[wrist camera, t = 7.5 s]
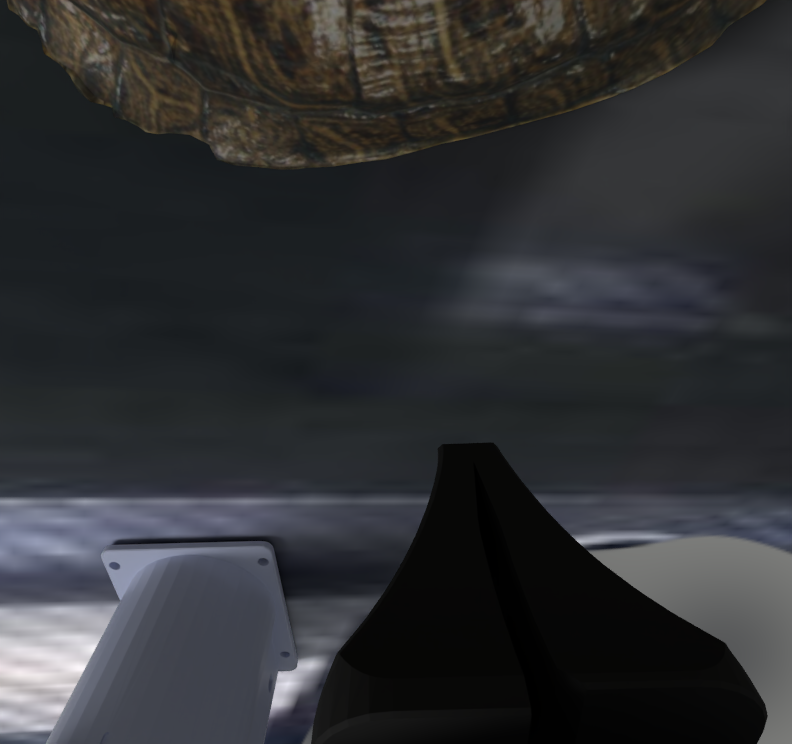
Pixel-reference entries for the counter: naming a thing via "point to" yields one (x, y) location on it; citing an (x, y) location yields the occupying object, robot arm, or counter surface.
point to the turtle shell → (362, 66)
